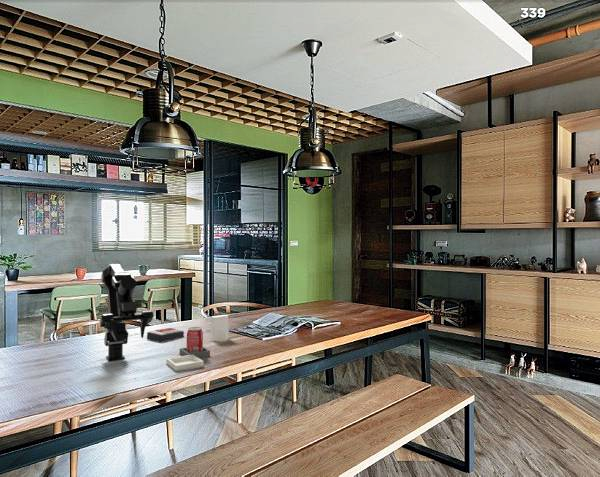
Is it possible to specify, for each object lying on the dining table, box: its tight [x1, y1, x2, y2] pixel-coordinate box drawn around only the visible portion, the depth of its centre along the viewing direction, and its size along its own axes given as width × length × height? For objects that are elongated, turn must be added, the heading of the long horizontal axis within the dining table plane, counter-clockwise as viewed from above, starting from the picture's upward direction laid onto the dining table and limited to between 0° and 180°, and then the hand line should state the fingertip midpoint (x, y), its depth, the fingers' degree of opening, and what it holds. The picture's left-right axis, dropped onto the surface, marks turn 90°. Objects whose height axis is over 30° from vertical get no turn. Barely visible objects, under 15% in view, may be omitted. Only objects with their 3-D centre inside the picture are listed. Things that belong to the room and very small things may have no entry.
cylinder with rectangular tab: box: [210, 314, 229, 342], centre depth 224 cm, size 9×9×12 cm
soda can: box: [186, 326, 204, 353], centre depth 195 cm, size 7×7×12 cm
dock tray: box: [165, 355, 205, 372], centre depth 180 cm, size 12×12×2 cm
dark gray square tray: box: [179, 346, 211, 359], centre depth 195 cm, size 10×10×2 cm
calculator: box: [146, 327, 185, 343], centre depth 226 cm, size 11×4×15 cm
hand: (129, 339), depth 164 cm, fingers open, 9 cm apart
